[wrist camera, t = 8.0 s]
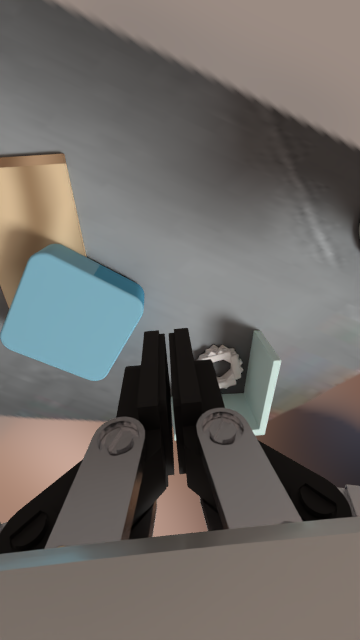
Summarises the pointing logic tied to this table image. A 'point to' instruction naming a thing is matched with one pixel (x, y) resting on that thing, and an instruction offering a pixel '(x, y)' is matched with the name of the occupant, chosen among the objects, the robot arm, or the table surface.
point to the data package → (72, 313)
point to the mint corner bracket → (248, 381)
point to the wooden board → (34, 213)
